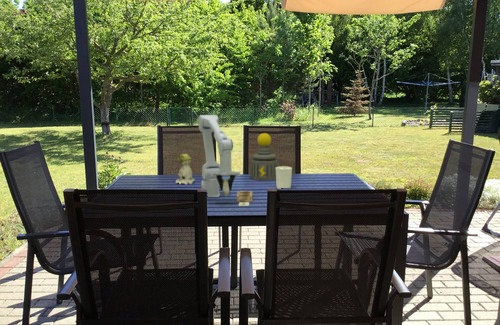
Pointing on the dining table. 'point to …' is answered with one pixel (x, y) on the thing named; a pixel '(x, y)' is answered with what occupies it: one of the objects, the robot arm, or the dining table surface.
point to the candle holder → (283, 177)
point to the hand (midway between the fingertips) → (226, 190)
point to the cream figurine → (185, 170)
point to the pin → (225, 187)
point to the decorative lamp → (264, 161)
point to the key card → (243, 203)
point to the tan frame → (244, 196)
